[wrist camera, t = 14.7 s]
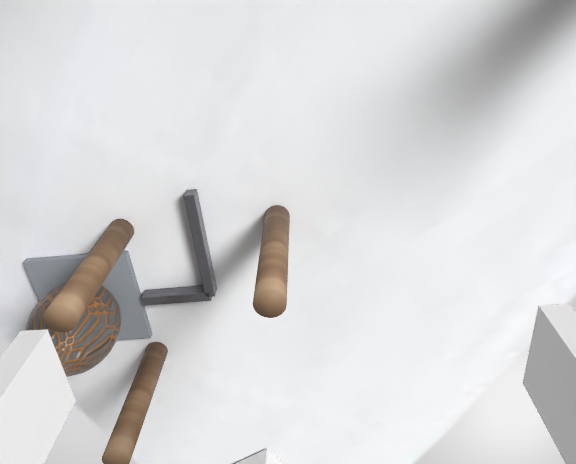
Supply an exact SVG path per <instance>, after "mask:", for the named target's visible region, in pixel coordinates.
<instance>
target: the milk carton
mask: <svg viewBox="0 0 576 464" xmlns="http://www.w3.org/2000/svg"><path fill="white" fill-rule="evenodd" d="M235 464H284V463H283V462H282V461H281V460H279V459H278V458H277V457H276V456H275V455H274V454H273V453H272V452H271V451H270V450H269V449H265V450H263V451H261V452H258V453H256V454H254V455H252V456H250V457H248V458H245V459H243V460H241V461H239V462H237V463H235Z"/></svg>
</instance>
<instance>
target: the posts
mask: <svg viewBox="0 0 576 464" xmlns="http://www.w3.org/2000/svg"><path fill="white" fill-rule="evenodd" d="M289 218H290V216H289V212H288V211H287V209H286V208H284V207H282V206H278V205H276V206H272V207H270V208H269V209H268V210H267V211H266V213H265V219H264V226H263V234H262V241H261V248H260V256H259V263H258V270H257V277H256V285H255V292H254V299H253V307H254V309H255V311H256V312H257V313H258V314H259V315H261V316H263V317H268V318H273V317H277V316H279V315H281V314H282V313H283V312H284V311H285V309H286V303H287V275H288V246H289ZM133 234H134V228H133V226H132V225H131V223H129V222H128V221H126V220H124V219H116V220H114V221H113V222H112V223H111V224H110V225H109V227H108V228H107V229H106V231H105V232H104V233H103V235H102V236H101V237H100V239H99V240H98V241H97V243H96V244H95V245H94V247H93V248H92V249H91V251H90V252H89V253H88V255H87V256H86V257H85V259H84V260H83V261H82V263H81V264H80V265H79V267H78V268H77V269H76V271H75V272H74V273H73V275H72V276H71V277H70V279H69V280H68V281H67V283H66V284H65V285H64V287H63V288H62V289H61V291H60V292H59V293H58V294H57V296H56V297H55V298H54V300H53V301H52V302H51V304H50V305H49V306H48V308H47V309H46V310H45V312H44V315H43V318H44V321H45V323H46V324H47V326H48V327H50V328H51V329H53V330H55V331H57V332H69V331H71V330H73V329H74V328H75V326H76V325H77V323H78V322H79V320H80V318H81V317H82V315H83V314H84V312H85V310H86V309H87V307H88V306H89V304H90V303H91V301H92V299H93V298H94V296H95V295H96V293H97V292H98V290H99V288H100V287H101V285H102V284H103V282H104V280H105V279H106V277H107V276H108V274H109V273H110V271H111V269H112V268H113V266H114V265H115V263H116V261H117V260H118V258H119V257H120V255H121V254H122V252H123V250H124V249H125V247H126V246H127V244H128V243H129V241H130V239H131V238H132V236H133ZM167 352H168V351H167V348H166V346H165V345H163V344H162V343H159V342H153V343H150V344H149V345H148V346H147V348H146V350H145V353H144V355H143V358H142V360H141V363H140V365H139V368H138V370H137V373H136V375H135V378H134V380H133V382H132V385H131V387H130V390H129V392H128V395H127V397H126V400H125V402H124V405H123V407H122V410H121V412H120V414H119V417H118V419H117V422H116V424H115V427H114V429H113V432H112V434H111V437H110V439H109V442H108V444H107V447H106V449H105V452H104V454H103V456H102V461H103V463H104V464H129V463H130V460H131V457H132V454H133V451H134V448H135V445H136V442H137V439H138V436H139V434H140V431H141V428H142V425H143V422H144V419H145V416H146V413H147V410H148V408H149V405H150V402H151V399H152V396H153V393H154V390H155V387H156V384H157V381H158V379H159V376H160V373H161V370H162V367H163V364H164V361H165V358H166V355H167Z"/></svg>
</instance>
